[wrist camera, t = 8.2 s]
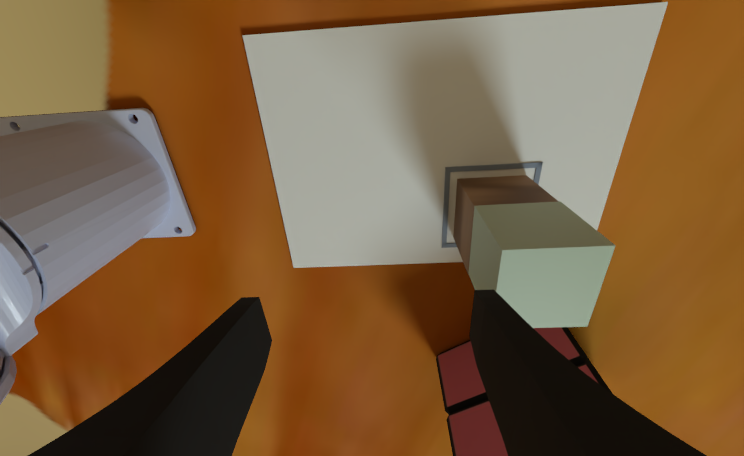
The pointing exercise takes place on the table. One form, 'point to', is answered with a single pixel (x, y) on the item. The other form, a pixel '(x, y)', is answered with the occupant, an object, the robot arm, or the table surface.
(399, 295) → the table surface
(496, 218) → the sage block
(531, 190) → the walnut block
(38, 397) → the table surface
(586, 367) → the puzzle cube
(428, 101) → the board
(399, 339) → the table surface
